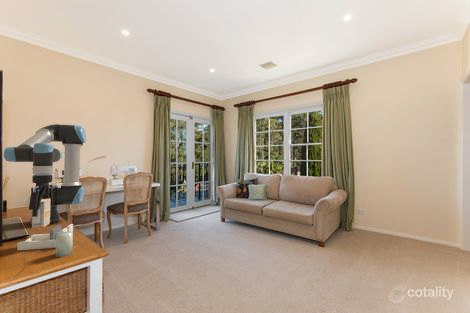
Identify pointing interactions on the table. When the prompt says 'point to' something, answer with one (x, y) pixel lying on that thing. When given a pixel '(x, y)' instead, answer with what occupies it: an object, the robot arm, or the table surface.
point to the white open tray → (41, 241)
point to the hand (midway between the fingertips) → (41, 220)
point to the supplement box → (43, 214)
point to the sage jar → (64, 243)
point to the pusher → (55, 232)
